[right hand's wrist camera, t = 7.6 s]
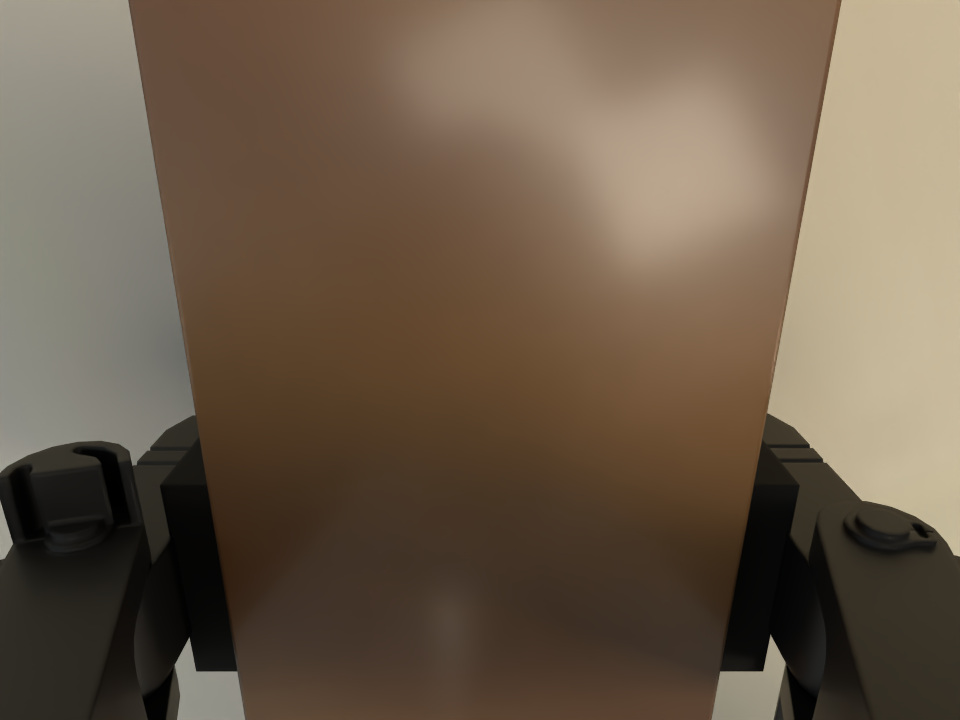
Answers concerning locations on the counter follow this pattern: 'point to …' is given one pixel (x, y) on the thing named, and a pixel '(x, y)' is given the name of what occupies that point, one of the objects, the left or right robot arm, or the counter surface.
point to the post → (481, 334)
